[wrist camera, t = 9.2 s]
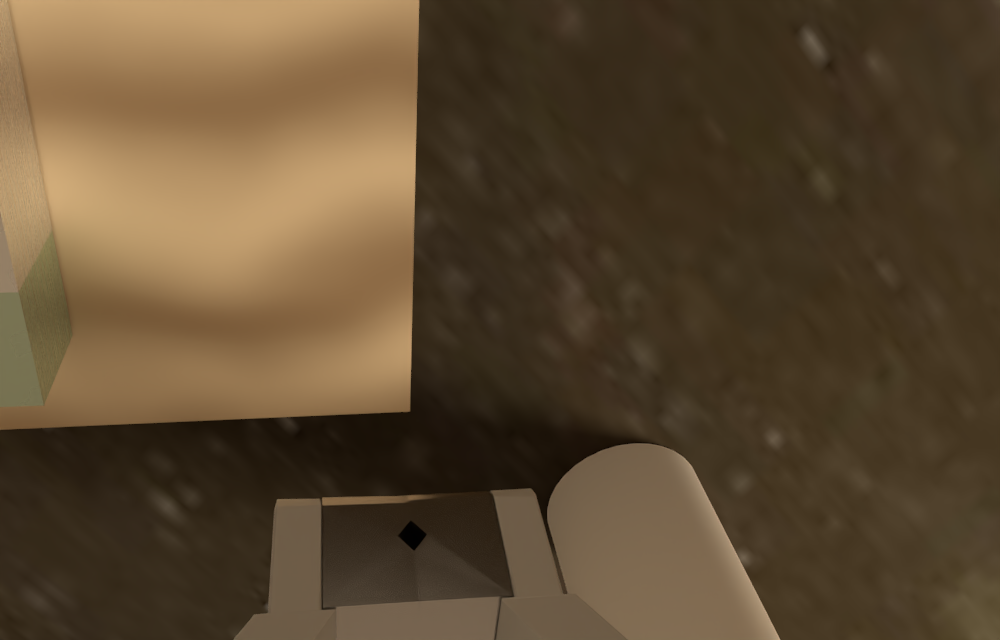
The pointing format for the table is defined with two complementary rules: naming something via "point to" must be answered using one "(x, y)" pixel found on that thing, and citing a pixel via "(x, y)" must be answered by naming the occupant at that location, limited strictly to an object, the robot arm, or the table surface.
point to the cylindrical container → (651, 549)
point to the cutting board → (225, 205)
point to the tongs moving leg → (25, 249)
